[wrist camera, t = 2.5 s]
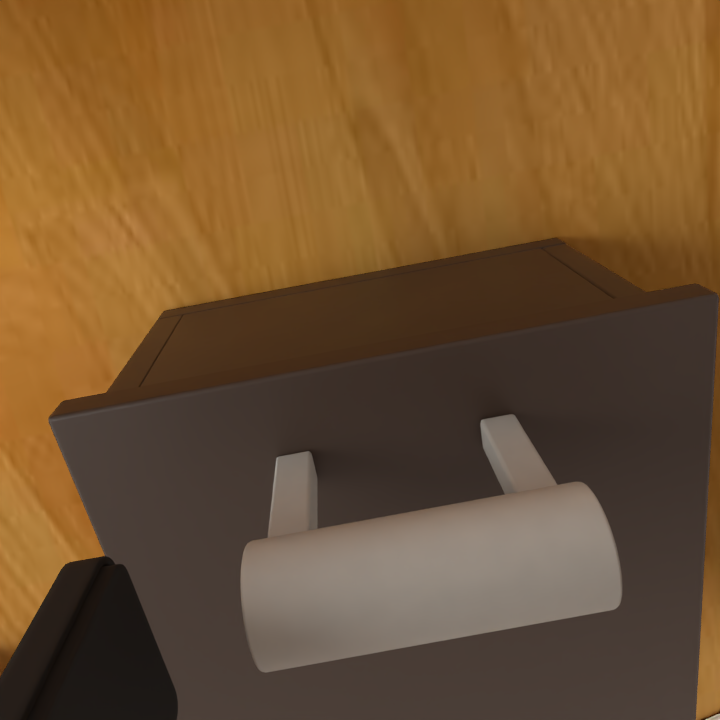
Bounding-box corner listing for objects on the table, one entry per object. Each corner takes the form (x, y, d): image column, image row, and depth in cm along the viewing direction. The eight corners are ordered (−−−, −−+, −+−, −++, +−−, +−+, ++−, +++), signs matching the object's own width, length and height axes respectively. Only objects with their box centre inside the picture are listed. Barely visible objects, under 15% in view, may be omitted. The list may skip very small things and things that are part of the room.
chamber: (163, 310, 20) (76, 432, 13) (557, 237, 20) (694, 318, 13) (268, 646, 26) (249, 861, 18) (575, 591, 26) (675, 785, 18)
